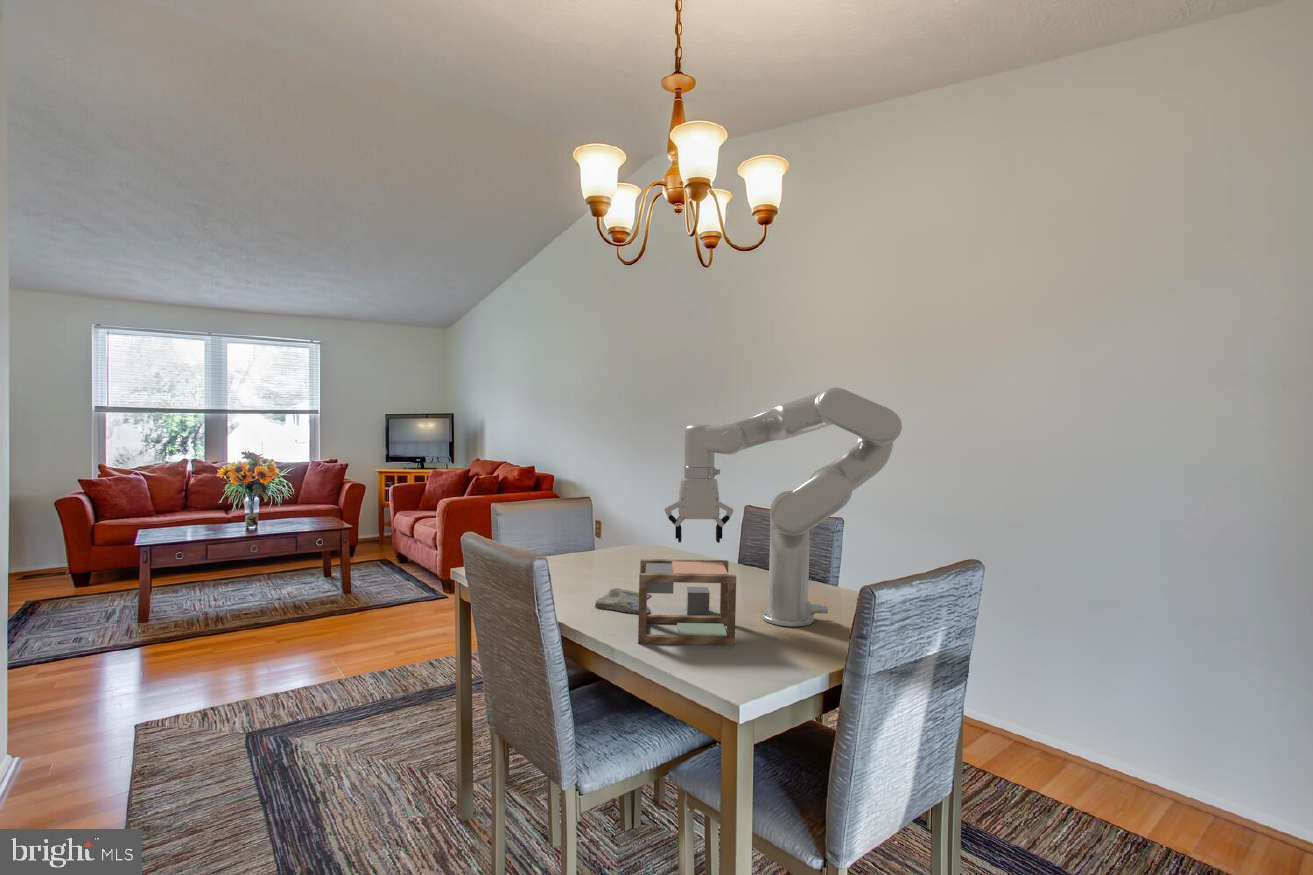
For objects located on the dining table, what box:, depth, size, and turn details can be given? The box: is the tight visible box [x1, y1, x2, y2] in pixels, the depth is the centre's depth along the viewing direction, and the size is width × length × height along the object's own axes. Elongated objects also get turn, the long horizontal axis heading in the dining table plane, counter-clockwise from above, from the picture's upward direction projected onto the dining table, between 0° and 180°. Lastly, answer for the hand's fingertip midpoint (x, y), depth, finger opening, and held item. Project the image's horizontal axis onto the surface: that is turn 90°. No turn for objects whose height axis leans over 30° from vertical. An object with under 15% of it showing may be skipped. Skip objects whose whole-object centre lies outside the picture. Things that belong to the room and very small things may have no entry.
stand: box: [637, 558, 737, 646], centre depth 148 cm, size 21×16×15 cm
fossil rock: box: [594, 587, 653, 615], centre depth 171 cm, size 18×15×2 cm
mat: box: [676, 623, 727, 636], centre depth 149 cm, size 11×11×1 cm
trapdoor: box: [646, 561, 729, 595], centre depth 148 cm, size 18×12×4 cm, turn 90°
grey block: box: [685, 586, 711, 616], centre depth 163 cm, size 5×5×6 cm
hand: (698, 541), depth 163 cm, fingers open, 9 cm apart
